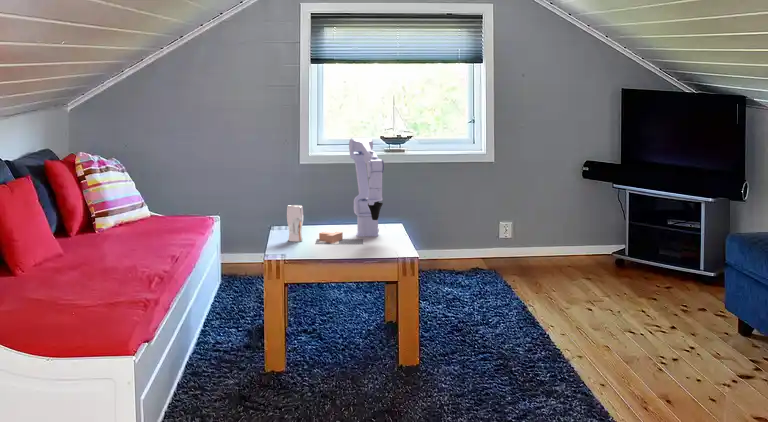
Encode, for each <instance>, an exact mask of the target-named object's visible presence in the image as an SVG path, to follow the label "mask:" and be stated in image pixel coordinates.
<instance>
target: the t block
mask: <svg viewBox="0 0 768 422" xmlns="http://www.w3.org/2000/svg"><path fill="white" fill-rule="evenodd" d="M318 235H319V236H318V239H319V240H324V241H326V242H329V243H333V242H336V241H339V240H342V239H344V238H343V232H339V231H334V232H327V231H325V232H324V231H321V232H319V234H318Z"/></svg>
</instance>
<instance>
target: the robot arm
mask: <svg viewBox="0 0 768 422" xmlns="http://www.w3.org/2000/svg"><path fill="white" fill-rule="evenodd" d="M348 149H349V151H348V152H349V156H350V159H352V160H353V161H354V164H355V166H354V167H355V172H356V173H355V174H356V181H357V189H358V195H356V196H355V197H354V199H353V212H354V214H355V215H356V217H357V218H356V219H357V223H356V224H357V225H356V226H357V229H356V230H357V231H356V237H378V236H379V231H380V228H379V216H380V211H381V209H382V206H383V204H384V203H383V202H382V201H383V173H384V172H385V161H384V159H382V158H379V156H378V155H377V152H375V151H374V150H373V149H374V141H373V139H372V138H371V137H368V138H367V137H366V138H361V137H359V138H357V137H356V138H353V137H351V138H350V139H349V142H348Z"/></svg>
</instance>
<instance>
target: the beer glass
mask: <svg viewBox="0 0 768 422" xmlns="http://www.w3.org/2000/svg"><path fill="white" fill-rule="evenodd" d="M286 207H287V208H286V220H287V227H288V239H287V241H288V242H289V243H290V242H291V243H300V242H303V235H302V229H303V223H304V208H303V205H302V204H290V205H287V206H286Z"/></svg>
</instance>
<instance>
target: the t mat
mask: <svg viewBox="0 0 768 422" xmlns="http://www.w3.org/2000/svg"><path fill="white" fill-rule="evenodd" d="M314 244H315V245H364V238H343V239H342V240H339V241H336V242H333V243H329V242H326V241H324V240H319V238H316V240H315V243H314Z"/></svg>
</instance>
